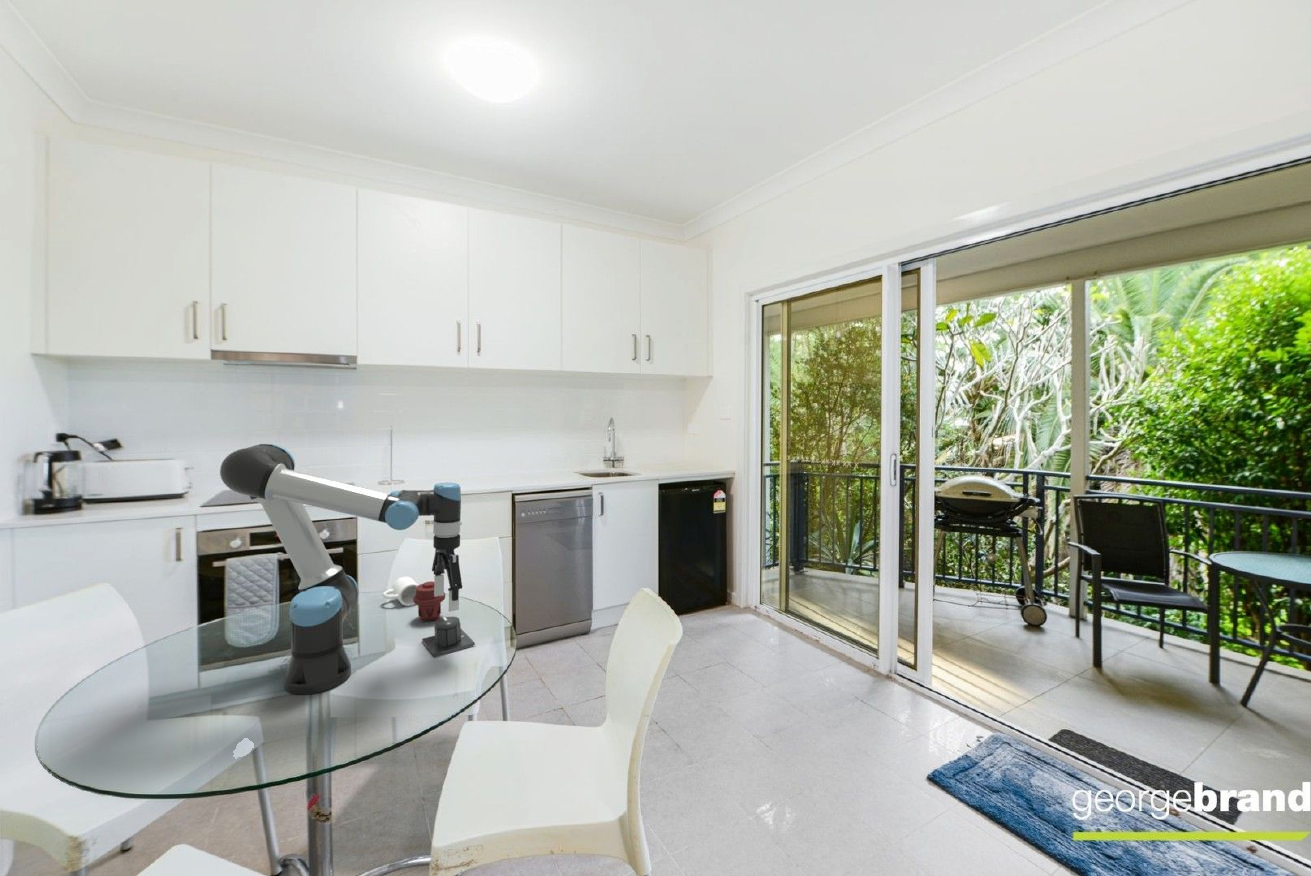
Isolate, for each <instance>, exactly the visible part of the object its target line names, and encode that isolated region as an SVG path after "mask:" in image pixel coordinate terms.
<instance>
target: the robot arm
mask: <svg viewBox="0 0 1311 876" xmlns="http://www.w3.org/2000/svg"><path fill="white" fill-rule="evenodd" d="M295 467H296V462H295V459H294V457H293V454H291V452H290V451H289V450H288V449H286V448H285V447H283V446H281V445H278V444H274V443H260V444H256V445H252V446H249V447H245V448H241V449H237V450H235V451H233V452H231V453H230V454H228V455H227V456H226V457H225V458H224V460H223V461H222V463H221V465H220V469H219V470H220V471H219V473H220V479H221V481H222V482H223V484H224V485H225V486H226V487H227V488H228V489H230V490H231V491H233V492H235V493H238V494H241V495H245V496H249V498H250V500H251V501H252V502H256V503H259V504H260V505H261V506H262V508H263V509H264V510H263V511H264V512H265V514H266V515H267V518H268V519H269V521H270V523H271V525H272V527H273V529H274V531H275V533H276V535H277V537H278V538H279V540H280V542H281V544H282V546H283V548H284V550H285V552H286V554H287V556H288V557H289V559H290V561H291V563H292V564H293V567H294V569H295V570H296V573H297V574H298V576H299V578H300V582H299V585H298V590H299V593H298V594H296V595H295V596H294V597H293V598H292V599H291V601H290V605H289V610H288V612H289V613H288V617H289V630H290V632H289V633H290V649H291V650H290V651H291V657H290V660H289V663H288V665H287V670H286V673H285V675H284V680H283V681H284V682H283V683H284V690H285V691H286V692H288V693H290V694H293V695H312V694H316V693H321V692H325V691H327V690H331V689H333V688H336V687H338V686H340V685H341V684H343V683H344V682H346V681H347V680H348V679H349V678H350V676H351V675H352V664H351V660H350V659H349V656H348V654H347V652H346V649H345V648H344V639H343V637H344V635H343V633H344V632H343V629H344V628H343V625H344V624H343V623H344V621H345V620H346V618H347V616H348V615H349V613H350V612H351V611H352V610H353V609H354V608H355V606H356V604H357V601H358V599H359V598H358V597H359V591H360V590H359V585H358V583H357V581H356V580H355V578H354V577H352V576H350V575H348V574H346V573H345V570H344V568H343V567H342V566H341V565H338V564H334V562H333V560H332V558H331V556H330V554H329V552H328V551H327V549H326V547H325V544H324V542H323V541H322V539H321V537H320V534H319V533H318V530H317V529H316V526H315V525H314V522H313V521H312V519H311V517H310V515H309V513H308V511H307V509H306V507H305V506H304V505H308V506H311V507H316V508H320V509H324V510H329V511H333V512H337V513H342V514H344V515H350V516H354V517H359V518H363V519H367V520H373V521H376V522H379V523H384V524H387V526H388V527H389V528H391V529H393V530H396V531H403V530H407V529H409V528H410V527H411V526H413V525H415V523H416V521H417V520H418V519H419V517H422V516H425V517H426V516H427V517H430V516H433V525H432V526H433V530H432V531H433V535H434V536H433V543H432V544H433V545H432V546H433V548H434V549H435V551H434V557H433V561H432V567H431V571H432V572H433V575H434V576H433V579H434V580H433V582H434V596H435V597H437V596H442V595H444V593H445V591H444V590H445V574H446V575H447V579H448V584H449V588H448V589H447V591H448V612H454V611H459V610H460V590H462V589H463V582H462V576H461V568H460V558H459V557H460V556H459V554H456V553H455V550H456V549H457V548H459V547H460V546H461V535H460V533H461V525H462V524H463V523H462V522H461V515H462V514H461V509H462V506H461V505H462V504H461V503H462V497H461V496H462V495H461V486H460V484H458V483H456V482H437V483H435V484H434V487H433V489H429V490H428V489H427V490H415V489H413V490H412V489H411V490H409V489H407V490H406V489H402V490H393V491H391V492H390V494H389V493H385V492H381V491H378V490H373V489H369V488H365V487H361V486H357V485H352V484H348V483H344V482H341V481H337V480H333V479H329V478H324V477H321V476H316V475H313V474H309V473H305V472H302V471H301V472H299V471H296V470H295ZM445 570H446V572H445Z"/></svg>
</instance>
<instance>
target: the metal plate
mask: <svg viewBox="0 0 1311 876" xmlns="http://www.w3.org/2000/svg"><path fill="white" fill-rule="evenodd" d="M421 643H422V644H423V645H424V647H426V649H427V650H428V651H429V653H430V654H431V656H432V657H433V658H436V657H441V656H443V655H447V654H451V653H454V652H458V651H462V650H466V649H468V648H471V646H472V647H474V646H473V645H475V646H476V643H475V641H474V640H473V639H472V638H471V637H470V636H469V635H468V634H467V633H466V632H465V631H464V630H463V629H462V628H461V639H460V641H459V642H458V643H456V644H453V645H449V646H439V645H437V644H436V643H435V635H431V636H428V637H423V638H421Z"/></svg>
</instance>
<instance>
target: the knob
mask: <svg viewBox="0 0 1311 876" xmlns="http://www.w3.org/2000/svg"><path fill="white" fill-rule="evenodd" d="M461 626H462V625H461V621H460V618H459V617H457V616H446V617H445V616H444V617H442V618H439V619H438V620H435V623H434V636H435V643H436V644H437V645H439V646H449V645H453V644H456V643H458V642H459V641H460V639H461V629H462V628H461Z"/></svg>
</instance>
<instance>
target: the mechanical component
mask: <svg viewBox="0 0 1311 876" xmlns="http://www.w3.org/2000/svg"><path fill="white" fill-rule="evenodd" d="M418 585H419V586H417V587H416V595H415V596H414V597H413V602H414V603H415V605H417V606H418V608H417V609H418V614H417V615H418V617H419V621H420V622H421V623H424V622H428V621H437V620H439V619H440V615H441V613H442V608H441V607H442V606H441V605H442V604H441V603H442V602H444V600H445V599H446V593H445V592H444V595H442V596H437V597H435V596H434V581H425V582H423V583H421V584H418Z"/></svg>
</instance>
